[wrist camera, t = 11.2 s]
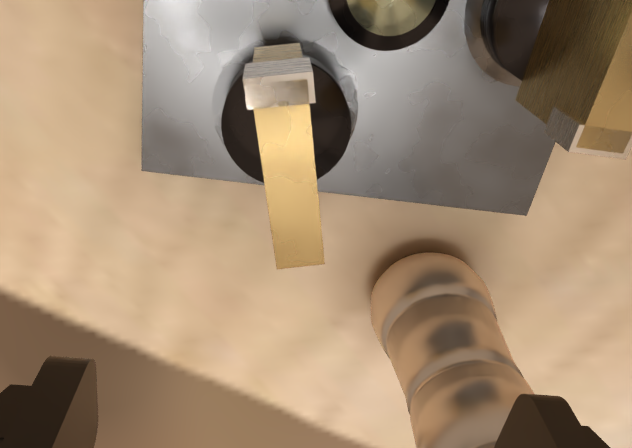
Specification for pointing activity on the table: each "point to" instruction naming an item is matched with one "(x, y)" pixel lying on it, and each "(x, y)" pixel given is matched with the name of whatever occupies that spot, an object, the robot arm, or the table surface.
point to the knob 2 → (568, 67)
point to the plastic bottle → (446, 351)
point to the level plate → (352, 96)
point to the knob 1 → (287, 141)
